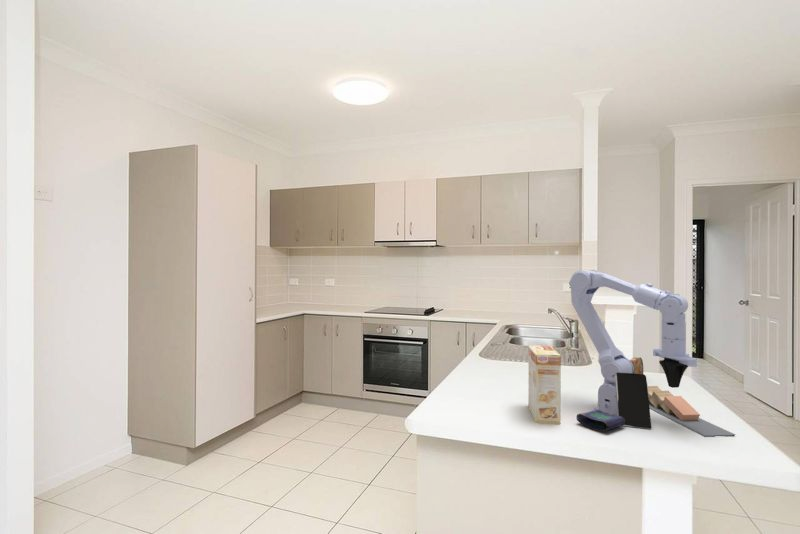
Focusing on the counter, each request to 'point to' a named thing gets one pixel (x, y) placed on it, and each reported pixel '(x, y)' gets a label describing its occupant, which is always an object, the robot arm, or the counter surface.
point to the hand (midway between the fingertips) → (673, 386)
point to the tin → (637, 365)
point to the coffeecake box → (544, 384)
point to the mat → (695, 424)
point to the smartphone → (633, 400)
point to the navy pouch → (600, 420)
